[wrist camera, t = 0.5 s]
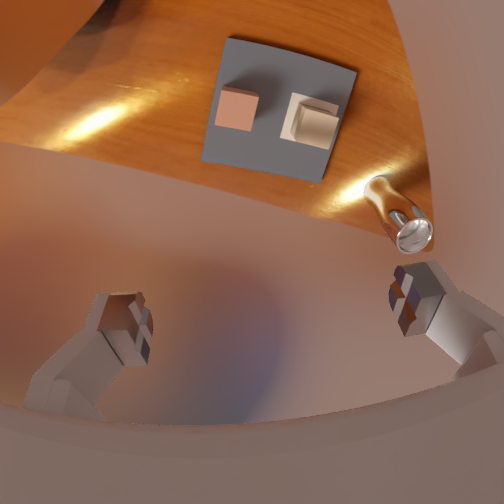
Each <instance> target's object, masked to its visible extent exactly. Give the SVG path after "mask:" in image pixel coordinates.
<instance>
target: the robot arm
mask: <svg viewBox="0 0 504 504" xmlns="http://www.w3.org/2000/svg"><path fill="white" fill-rule="evenodd" d="M394 277H395V279H396V280H395V281H394V282H393V283H392V284H391V285H390V289H389V302H390V306H391V308H392V311H393V312H394V313H395V314H397V315H398V316H399V319H398V324H399V326H400V328H401V330H402V332H403V335H404V337H407V336H412V335H418V334H423V333H426V335H427V336H428V337H429V338H431V339H432V340H433V341H434V342H435V343H436V344H438V345H439V346H440V347H441V348H442V349H443V350H444V351H446V352H447V353H448V354H449V355H450V356H451V357H452V358H453V359H455V360H456V361H457V362H458V363H459V364H460V365H461V367H460V368H459V370H458V371H457V372H456V373H455V375H454V377H453V379H454V381H451V382H448V383H445V384H442V385H439V386H437V387H434V388H430V389H427V390H424V391H421V392H417V393H414V394H410V395H407V396H403V397H400V398H396V399H392V400H388V401H384V402H381V403H376V404H372V405H368V406H363V407H359V408H354V409H349V410H344V411H339V412H333V413H328V414H322V415H316V416H309V417H302V418H295V419H287V420H279V421H269V422H259V423H247V424H231V425H201V426H174V425H171V426H170V425H145V424H129V423H118V422H108V421H106V418H105V417H104V415H103V414H102V413H101V412H99V411H98V410H97V409H96V408H95V405H96V404H97V403H98V401H99V400H100V399H101V397H102V396H103V395H104V393H105V392H106V391H107V389H108V388H109V386H110V385H111V384H112V383H113V381H114V380H115V379H116V377H117V376H118V375H119V373H120V372H121V371H122V369H123V368H124V366H146V365H147V364H148V358H149V353H150V347H149V345H148V343H147V342H148V341H149V340H150V339H151V338H152V336H153V319H152V315H151V313H150V310H149V309H148V308H146V307H145V306H144V303H145V298H144V296H143V294H142V292H139V291H137V292H113V293H98V294H97V295H96V296H95V299H94V301H93V304H92V307H91V309H90V312H89V314H88V317H87V320H86V322H85V325H84V328H83V331H79V332H77V333H76V334H75V335H74V336H73V337H72V338H71V339H70V340H69V341H68V342H67V343H66V344H64V345H63V346H62V347H61V348H60V349H59V350H58V351H57V352H56V353H55V354H54V355H53V356H52V357H51V358H50V359H49V360H48V361H47V362H46V363H45V364H44V365H43V366H41V367H40V368H39V370H37V371H36V372H35V373H34V374H33V377H32V380H31V383H30V386H29V389H28V392H27V395H26V398H25V402H24V405H23V407H20V406H15V405H12V404H7V403H4V402H0V504H504V317H503V316H502V315H500V314H499V313H497V312H496V311H494V310H492V309H491V308H489V307H488V306H486V305H484V304H483V303H481V302H479V301H478V300H476V299H475V298H473V297H471V296H470V295H468V294H466V293H465V292H463V291H461V292H459V291H458V289H457V288H456V286H455V285H454V283H453V282H452V280H451V279H450V277H449V276H448V275H447V273H446V272H445V270H444V269H443V267H442V266H441V265H440V263H439V262H438V261H436V260H431V261H426V262H419V263H413V264H405V265H398V266H397V267H396V269H395V271H394Z"/></svg>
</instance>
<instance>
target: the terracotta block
mask: <svg viewBox="0 0 504 504" xmlns="http://www.w3.org/2000/svg"><path fill="white" fill-rule="evenodd" d="M258 100H259V96H258V94H257V93H256V92H252V91H247V90H242V89H237V88H232V87H226V86H222V91H221V95H220V100H219V105H218V109H217V114H216V119H215V124H214V125H217V126H223V127H229V128H234V129H240V130H245V131H250V132H251V128H252V124H253V120H254V116H255V112H256V108H257V104H258Z"/></svg>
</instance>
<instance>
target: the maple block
mask: <svg viewBox="0 0 504 504" xmlns="http://www.w3.org/2000/svg"><path fill="white" fill-rule="evenodd" d="M338 120H339V118H338V117H337V116H335V115H334V114H333V113H331V112H330V111H328V110H324V109H321V108H317V107H314V106H310V105H307V104H303V103H299V102H298V106H297V109H296V113H295V116H294V120H293V123H292V127H291V130H290V133H291V134H292V136H293V137H294V139H295V140H296V142H300V143H305V144H309V145H313V146H316V147H320V148H324V149H328V150H329V147H330V144H331V141H332V139H333V136H334V133H335V130H336V127H337V123H338Z"/></svg>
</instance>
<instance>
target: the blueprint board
mask: <svg viewBox="0 0 504 504" xmlns="http://www.w3.org/2000/svg"><path fill="white" fill-rule="evenodd" d="M356 75H357V72H354V71H351V70H348V69H346V68H343V67H340V66H337V65H334V64H331V63H328V62H325V61H322V60H319V59H315V58H312V57H309V56H305V55H302V54H298V53H295V52H291V51H287V50H283V49H279V48H275V47H271V46H267V45H262V44H258V43H253V42H248V41H243V40H238V39H232V38H226V42H225V46H224V51H223V55H222V59H221V63H220V68H219V72H218V77H217V81H216V86H215V91H214V95H213V100H212V105H211V110H210V115H209V120H208V125H207V131H206V136H205V141H204V147H203V153H202V158H201V161H204V162H210V163H216V164H222V165H228V166H234V167H240V168H245V169H251V170H256V171H262V172H267V173H272V174H277V175H282V176H287V177H291V178H296V179H301V180H305V181H310V182H314V183H319V184H320V182H321V180H322V177H323V174H324V171H325V168H326V165H327V162H328V160H329V157H330V154H331V151H332V148H333V145H334V142H335V139H336V136H337V133H338V130H339V127H340V124H341V121H342V118H343V115H344V112H345V109H346V106H347V103H348V100H349V97H350V94H351V90H352V87H353V84H354V81H355V78H356ZM222 86H226V87H232V88H237V89H242V90H247V91H252V92H256V93H257V94H258V96H259V100H258V104H257V108H256V112H255V116H254V120H253V124H252V128H251V132H250V131H245V130H240V129H234V128H229V127H223V126H217V125H214V124H215V119H216V114H217V109H218V105H219V100H220V95H221V91H222ZM298 102H299V103H303V104H307V105H310V106H314V107H317V108H321V109H324V110H328V111H330V112H331V113H333V114H334V115H335V116H337V117H338V118H339V120H338V123H337V127H336V130H335V133H334V136H333V139H332V141H331V144H330V147H329V150H328V149H324V148H320V147H316V146H313V145H309V144H305V143H300V142H296V140H295V139H294V137H293V136H292V134H291V133H290V130H291V127H292V123H293V120H294V116H295V113H296V109H297V106H298Z"/></svg>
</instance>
